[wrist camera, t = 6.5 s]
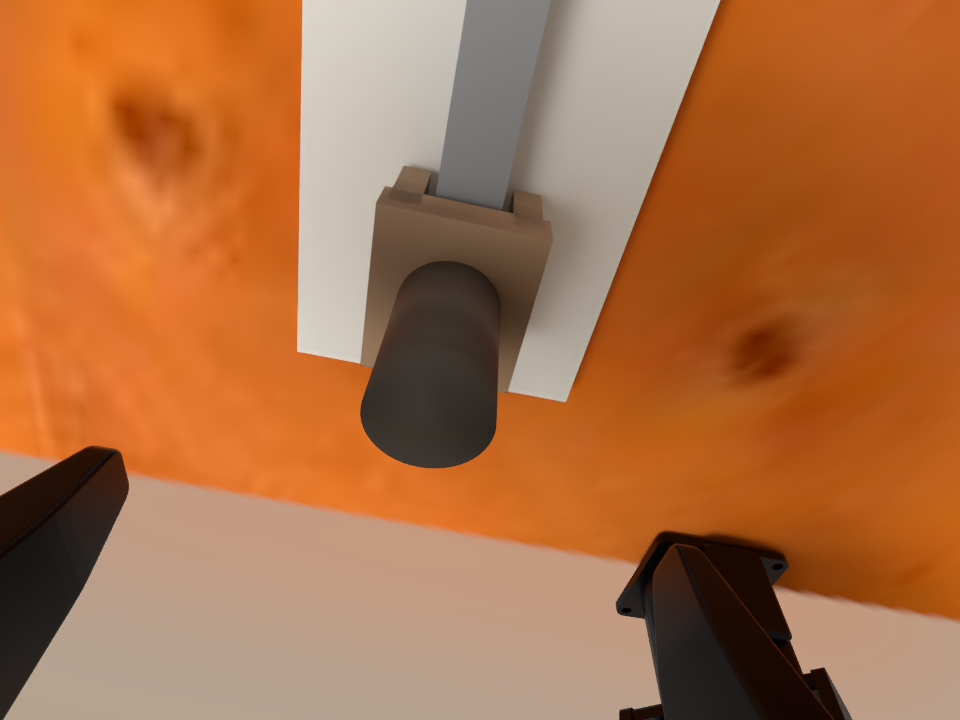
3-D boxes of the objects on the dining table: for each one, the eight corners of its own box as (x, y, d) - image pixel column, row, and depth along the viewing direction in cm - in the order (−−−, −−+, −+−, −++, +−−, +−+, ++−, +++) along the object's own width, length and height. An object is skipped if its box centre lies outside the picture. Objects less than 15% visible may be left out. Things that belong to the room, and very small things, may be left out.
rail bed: (563, 385, 22) (572, 460, 19) (305, 336, 21) (268, 405, 18) (990, -755, 9) (1266, -1160, 6) (339, -1000, 8) (221, -1639, 5)
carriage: (508, 337, 19) (505, 515, 13) (379, 311, 19) (316, 482, 13) (547, 196, 17) (566, 343, 10) (396, 164, 16) (326, 295, 10)
